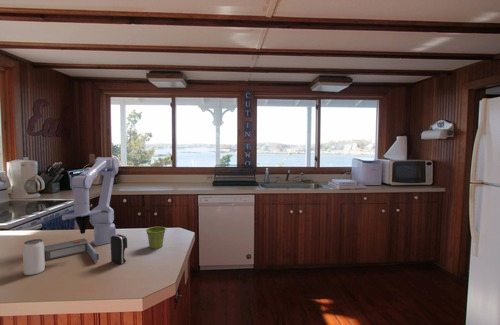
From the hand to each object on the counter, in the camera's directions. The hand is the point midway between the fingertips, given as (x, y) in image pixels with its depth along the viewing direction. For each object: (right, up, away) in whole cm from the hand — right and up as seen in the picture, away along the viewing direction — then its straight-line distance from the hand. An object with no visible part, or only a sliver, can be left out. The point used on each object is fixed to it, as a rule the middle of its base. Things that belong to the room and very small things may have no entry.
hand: (82, 233), depth 120 cm
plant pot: (+29, -10, +12) cm, 33 cm away
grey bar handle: (+5, -10, -1) cm, 11 cm away
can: (-9, -11, -16) cm, 21 cm away
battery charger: (+19, -11, -6) cm, 23 cm away
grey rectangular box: (-9, -10, +3) cm, 14 cm away
